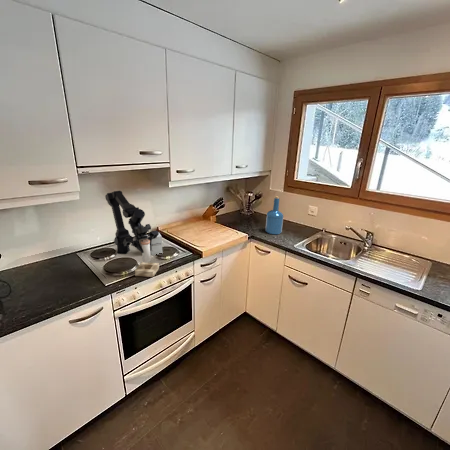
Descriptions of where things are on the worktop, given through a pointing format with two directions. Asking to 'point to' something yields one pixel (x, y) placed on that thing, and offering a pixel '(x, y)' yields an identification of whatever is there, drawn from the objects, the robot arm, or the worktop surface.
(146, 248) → the white pink cylinder
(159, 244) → the supplement box
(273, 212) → the wine bottle
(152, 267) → the beige square frame
